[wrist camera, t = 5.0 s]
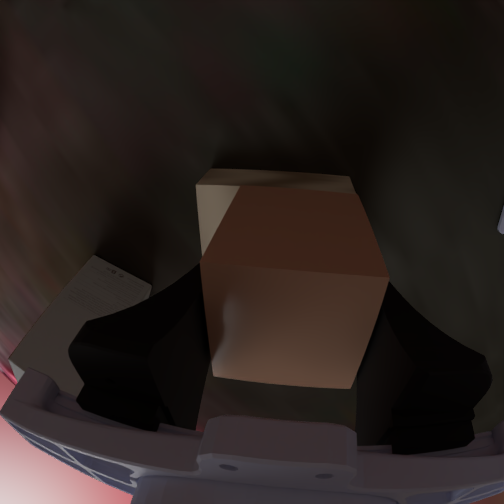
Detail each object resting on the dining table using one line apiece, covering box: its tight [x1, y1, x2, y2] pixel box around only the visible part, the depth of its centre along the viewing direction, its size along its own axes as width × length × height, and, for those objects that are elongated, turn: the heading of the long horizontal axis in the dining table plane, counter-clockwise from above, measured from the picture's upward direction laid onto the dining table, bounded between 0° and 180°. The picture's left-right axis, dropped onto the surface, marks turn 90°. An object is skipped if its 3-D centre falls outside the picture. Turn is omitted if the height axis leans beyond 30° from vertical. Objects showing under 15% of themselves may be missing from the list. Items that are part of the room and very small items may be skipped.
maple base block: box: [196, 169, 356, 256], centre depth 21 cm, size 9×9×4 cm
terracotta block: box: [200, 185, 390, 389], centre depth 12 cm, size 5×5×6 cm
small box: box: [8, 255, 152, 397], centre depth 23 cm, size 8×6×13 cm
